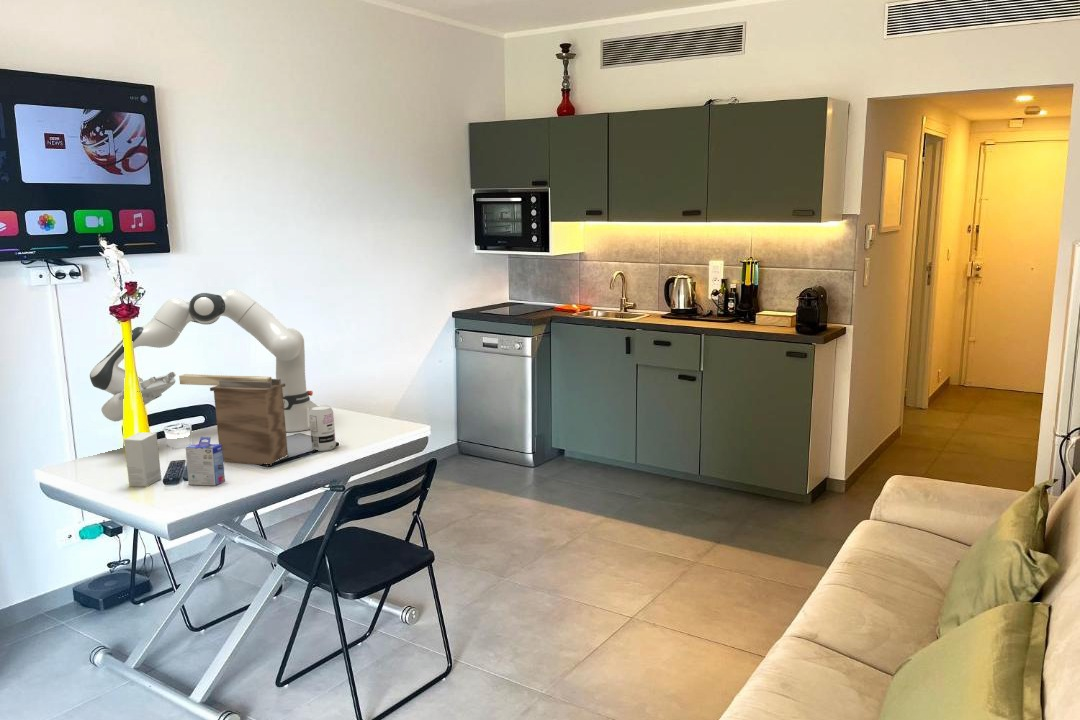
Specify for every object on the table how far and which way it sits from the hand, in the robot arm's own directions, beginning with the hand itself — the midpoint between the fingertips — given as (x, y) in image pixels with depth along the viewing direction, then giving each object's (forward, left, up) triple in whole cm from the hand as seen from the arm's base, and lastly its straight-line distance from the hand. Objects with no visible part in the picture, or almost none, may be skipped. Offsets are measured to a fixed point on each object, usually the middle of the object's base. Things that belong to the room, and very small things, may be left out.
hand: (164, 376), depth 294 cm
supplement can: (-17, +51, -29) cm, 61 cm away
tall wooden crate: (0, +34, -28) cm, 44 cm away
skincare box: (+30, +15, -29) cm, 44 cm away
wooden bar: (0, +25, -2) cm, 25 cm away
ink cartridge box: (+26, +35, -29) cm, 52 cm away
